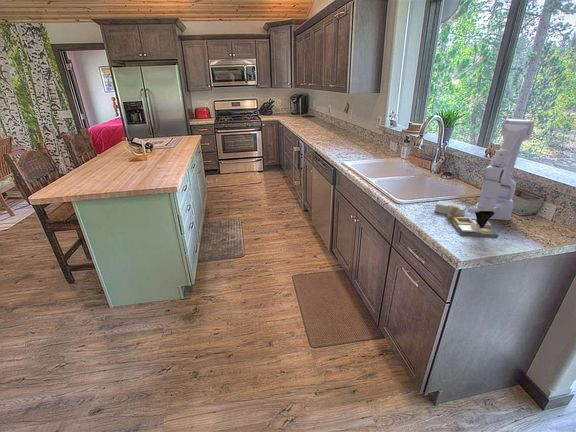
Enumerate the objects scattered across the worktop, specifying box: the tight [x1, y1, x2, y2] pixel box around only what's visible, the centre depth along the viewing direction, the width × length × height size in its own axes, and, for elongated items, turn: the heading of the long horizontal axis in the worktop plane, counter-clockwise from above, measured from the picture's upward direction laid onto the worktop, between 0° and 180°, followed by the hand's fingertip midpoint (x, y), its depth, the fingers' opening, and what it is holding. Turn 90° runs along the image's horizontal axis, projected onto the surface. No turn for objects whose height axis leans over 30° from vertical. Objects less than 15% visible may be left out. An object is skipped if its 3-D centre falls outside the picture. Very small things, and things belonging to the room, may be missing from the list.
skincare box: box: [434, 200, 467, 217], centre depth 145 cm, size 6×4×12 cm
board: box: [449, 216, 499, 238], centre depth 130 cm, size 14×14×2 cm
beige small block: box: [446, 205, 459, 221], centre depth 139 cm, size 4×4×6 cm
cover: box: [458, 220, 480, 232], centre depth 126 cm, size 6×5×3 cm
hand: (480, 226), depth 126 cm, fingers closed
